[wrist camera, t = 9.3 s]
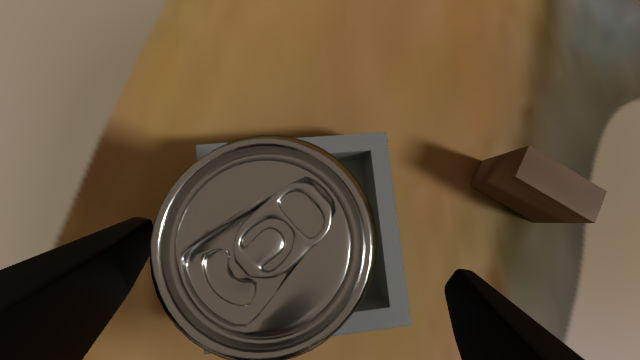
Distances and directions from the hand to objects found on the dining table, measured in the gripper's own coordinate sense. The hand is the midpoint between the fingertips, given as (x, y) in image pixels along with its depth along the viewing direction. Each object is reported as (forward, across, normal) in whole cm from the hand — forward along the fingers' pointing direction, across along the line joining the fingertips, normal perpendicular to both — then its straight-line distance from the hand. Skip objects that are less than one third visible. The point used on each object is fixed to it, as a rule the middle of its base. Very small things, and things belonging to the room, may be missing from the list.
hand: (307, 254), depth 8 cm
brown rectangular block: (+11, +14, -3) cm, 17 cm away
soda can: (+7, -1, -6) cm, 9 cm away
